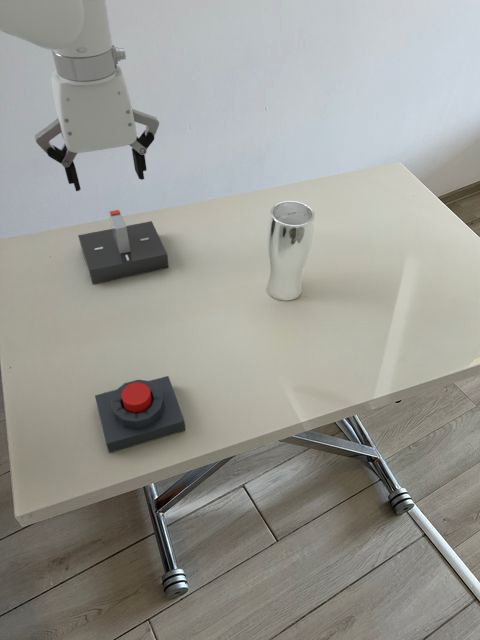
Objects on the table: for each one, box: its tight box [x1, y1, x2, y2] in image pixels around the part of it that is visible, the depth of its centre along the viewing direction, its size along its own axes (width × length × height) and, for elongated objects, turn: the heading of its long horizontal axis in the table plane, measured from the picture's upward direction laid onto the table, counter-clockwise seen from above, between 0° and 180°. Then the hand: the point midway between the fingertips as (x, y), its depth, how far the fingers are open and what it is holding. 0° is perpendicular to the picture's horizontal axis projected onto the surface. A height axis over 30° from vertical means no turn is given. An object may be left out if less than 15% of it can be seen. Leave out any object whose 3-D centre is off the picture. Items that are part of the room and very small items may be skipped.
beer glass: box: [266, 200, 315, 302], centre depth 84 cm, size 7×7×15 cm
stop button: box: [121, 383, 152, 413], centre depth 68 cm, size 4×4×2 cm
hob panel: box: [78, 220, 170, 285], centre depth 92 cm, size 13×10×3 cm
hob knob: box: [108, 209, 130, 254], centre depth 89 cm, size 5×2×5 cm, turn 23°
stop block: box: [94, 375, 186, 454], centre depth 70 cm, size 10×8×4 cm
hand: (108, 180), depth 81 cm, fingers open, 9 cm apart
